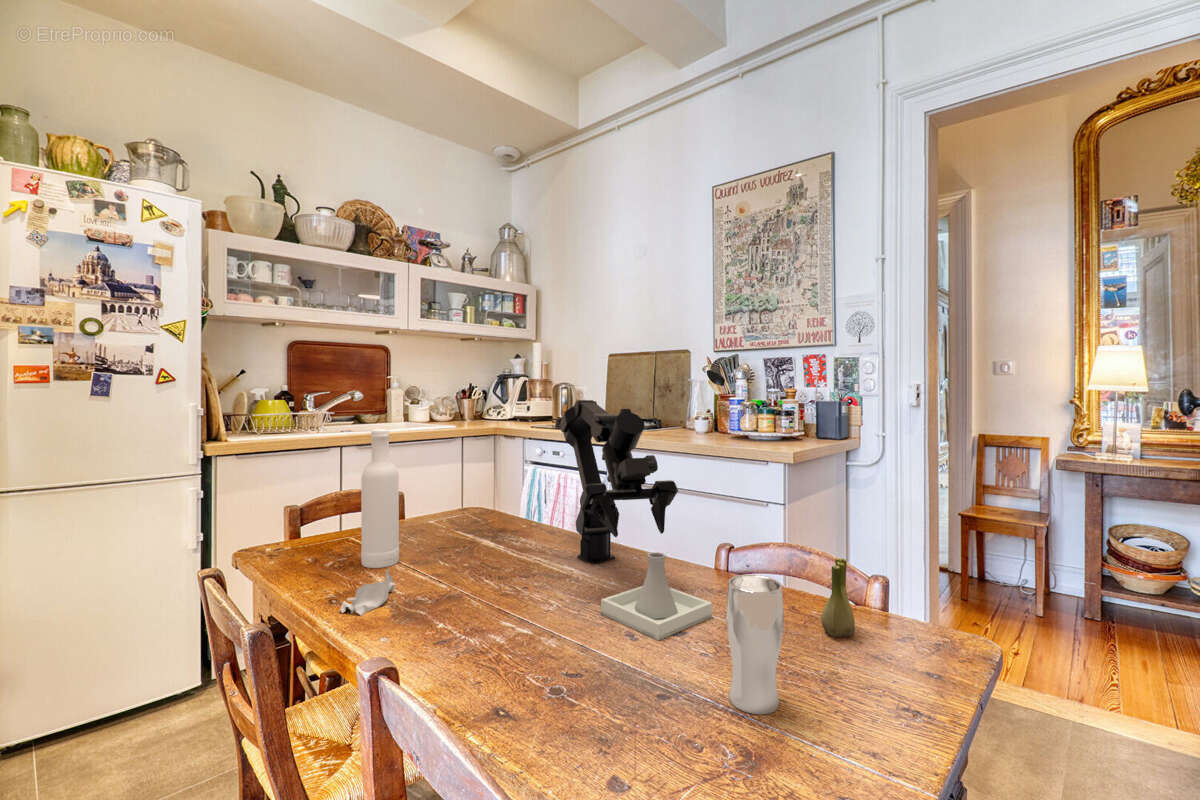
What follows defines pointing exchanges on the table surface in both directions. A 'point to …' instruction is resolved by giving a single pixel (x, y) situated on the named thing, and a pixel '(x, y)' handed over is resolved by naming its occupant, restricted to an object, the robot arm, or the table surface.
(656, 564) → the flask
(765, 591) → the beer glass
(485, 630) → the table surface
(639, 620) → the tray
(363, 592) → the wrapped candy
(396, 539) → the bottle
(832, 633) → the fennel bulb
